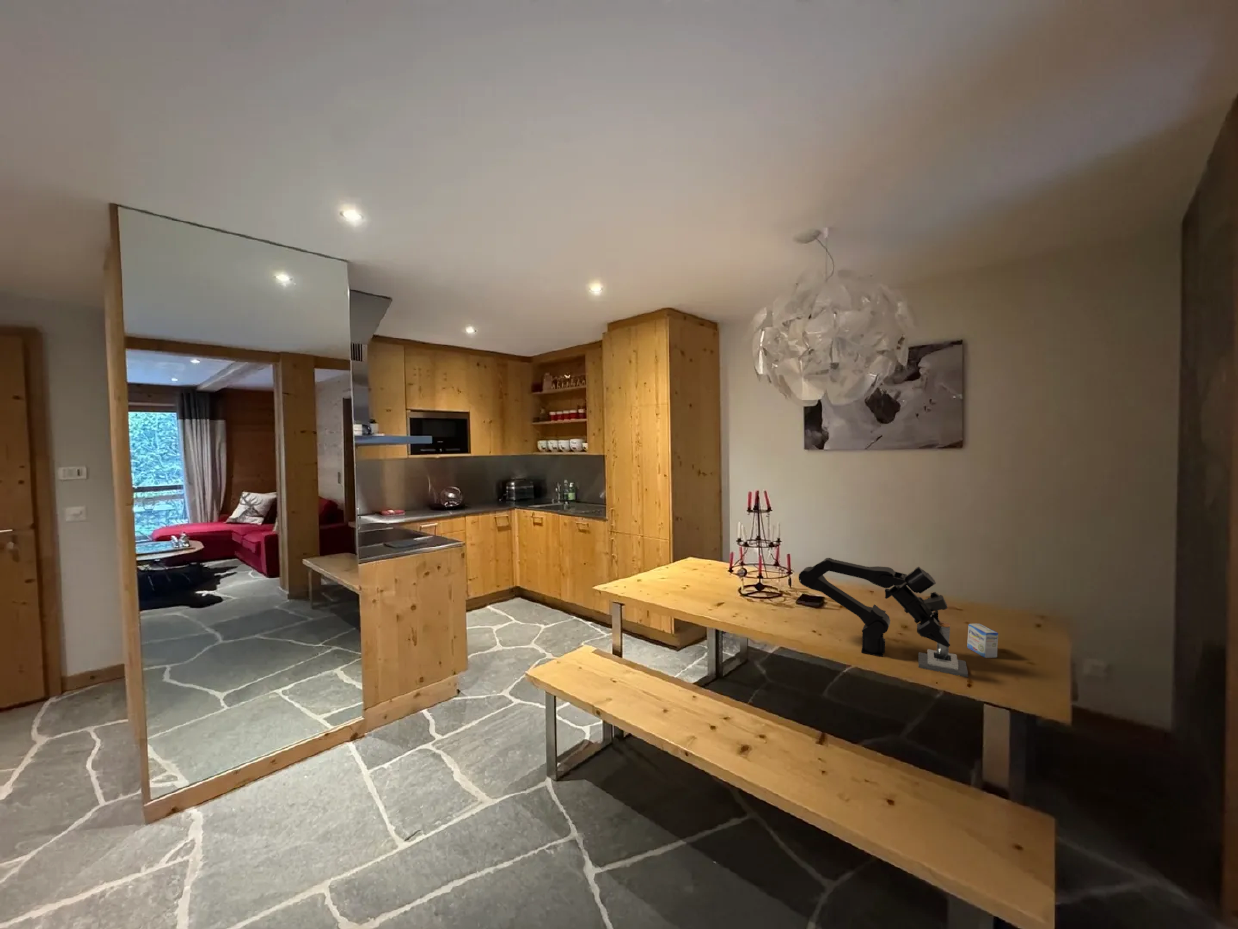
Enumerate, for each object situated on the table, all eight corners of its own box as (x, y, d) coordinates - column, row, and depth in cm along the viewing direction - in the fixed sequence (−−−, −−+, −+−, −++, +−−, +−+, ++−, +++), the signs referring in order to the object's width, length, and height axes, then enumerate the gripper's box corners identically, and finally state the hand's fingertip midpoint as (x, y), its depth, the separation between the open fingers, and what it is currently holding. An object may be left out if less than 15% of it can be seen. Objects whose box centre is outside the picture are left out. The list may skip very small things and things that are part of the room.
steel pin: (936, 663, 159) (938, 623, 158) (935, 659, 162) (938, 620, 161) (948, 665, 157) (950, 625, 157) (947, 661, 160) (949, 622, 159)
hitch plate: (918, 667, 159) (918, 658, 159) (918, 655, 167) (918, 646, 167) (968, 677, 152) (968, 668, 152) (965, 664, 161) (965, 655, 160)
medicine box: (966, 647, 172) (967, 623, 172) (978, 647, 173) (979, 623, 172) (984, 658, 164) (986, 633, 164) (997, 657, 165) (998, 632, 164)
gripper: (931, 595, 152) (973, 638, 147) (929, 579, 168) (968, 617, 163) (900, 615, 156) (941, 657, 152) (902, 598, 172) (938, 635, 168)
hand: (948, 640), depth 158 cm, fingers open, 9 cm apart
